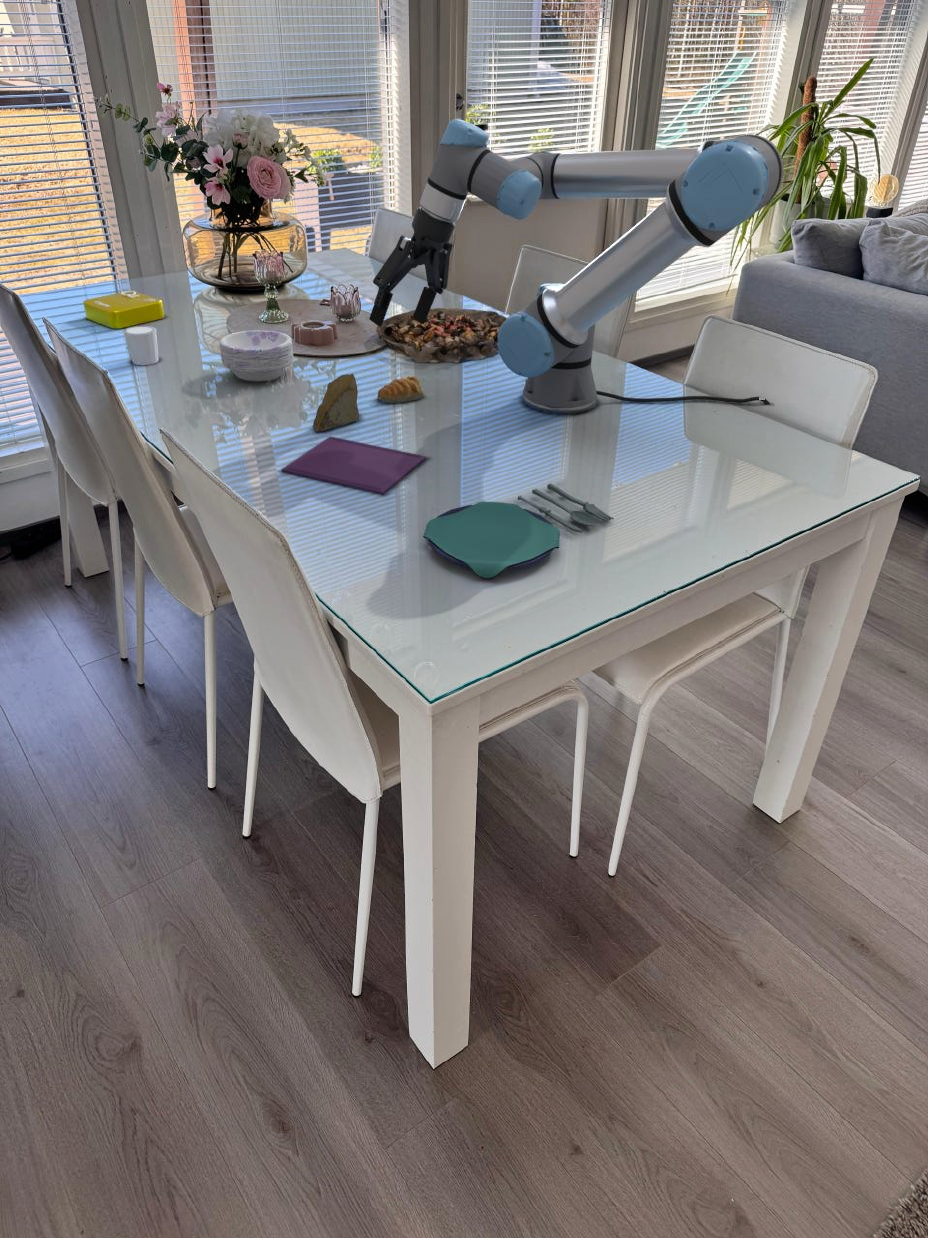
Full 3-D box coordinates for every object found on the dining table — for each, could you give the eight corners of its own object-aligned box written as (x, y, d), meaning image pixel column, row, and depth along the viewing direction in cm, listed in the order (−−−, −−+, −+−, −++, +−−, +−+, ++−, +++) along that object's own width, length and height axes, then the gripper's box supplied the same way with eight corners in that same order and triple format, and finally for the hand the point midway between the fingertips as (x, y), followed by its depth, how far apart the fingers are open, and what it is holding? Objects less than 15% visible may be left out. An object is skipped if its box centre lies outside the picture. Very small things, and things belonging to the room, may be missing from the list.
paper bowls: (289, 361, 202) (285, 325, 198) (299, 383, 190) (296, 346, 186) (220, 366, 198) (215, 330, 194) (227, 390, 186) (222, 352, 182)
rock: (315, 427, 165) (367, 414, 167) (302, 383, 165) (353, 370, 167) (313, 441, 175) (362, 429, 177) (301, 400, 175) (350, 388, 177)
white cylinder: (123, 363, 199) (116, 331, 195) (143, 354, 204) (137, 323, 200) (148, 367, 197) (142, 335, 193) (167, 358, 202) (162, 327, 198)
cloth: (426, 458, 160) (426, 456, 160) (383, 494, 148) (383, 491, 148) (330, 438, 166) (330, 436, 166) (282, 471, 154) (281, 468, 154)
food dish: (467, 377, 198) (467, 343, 193) (349, 353, 212) (346, 320, 208) (540, 333, 222) (542, 301, 217) (430, 314, 236) (429, 283, 232)
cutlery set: (400, 538, 136) (399, 524, 135) (544, 486, 151) (545, 474, 150) (482, 594, 123) (483, 580, 122) (631, 532, 139) (632, 518, 137)
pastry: (389, 407, 180) (388, 389, 178) (370, 398, 184) (369, 380, 182) (426, 397, 185) (426, 379, 183) (407, 388, 189) (406, 371, 187)
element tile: (83, 317, 227) (79, 298, 224) (135, 306, 236) (131, 287, 234) (115, 330, 219) (111, 310, 216) (168, 317, 228) (165, 298, 226)
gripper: (461, 208, 172) (422, 310, 184) (379, 199, 153) (341, 313, 165) (489, 226, 170) (448, 328, 182) (410, 219, 151) (369, 334, 163)
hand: (397, 321), depth 173 cm, fingers open, 13 cm apart
